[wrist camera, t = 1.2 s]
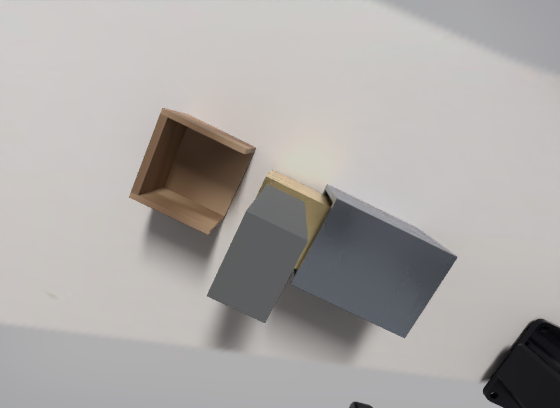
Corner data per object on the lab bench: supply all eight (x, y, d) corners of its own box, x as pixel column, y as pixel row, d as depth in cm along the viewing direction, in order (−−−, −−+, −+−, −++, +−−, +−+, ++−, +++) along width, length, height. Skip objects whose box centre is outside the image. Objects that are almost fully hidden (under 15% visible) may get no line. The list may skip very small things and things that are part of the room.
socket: (255, 147, 19) (246, 148, 15) (223, 219, 20) (208, 234, 16) (187, 114, 18) (162, 107, 15) (158, 187, 19) (129, 197, 16)
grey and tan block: (406, 234, 18) (518, 331, 9) (377, 284, 19) (452, 420, 10) (272, 169, 18) (244, 199, 9) (247, 222, 19) (197, 301, 9)
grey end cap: (418, 228, 19) (457, 256, 14) (379, 292, 20) (404, 338, 15) (327, 184, 19) (337, 198, 14) (293, 250, 20) (291, 284, 15)
